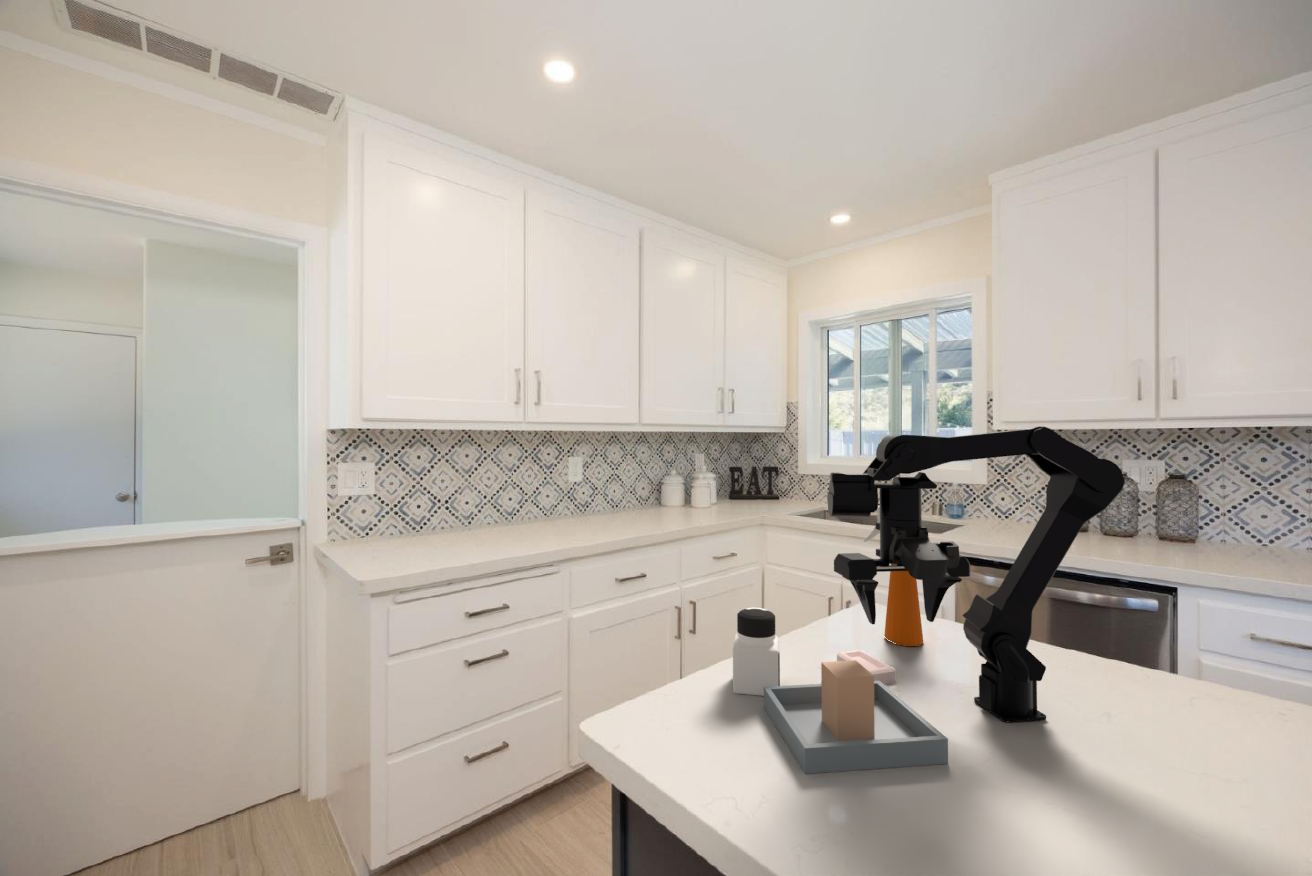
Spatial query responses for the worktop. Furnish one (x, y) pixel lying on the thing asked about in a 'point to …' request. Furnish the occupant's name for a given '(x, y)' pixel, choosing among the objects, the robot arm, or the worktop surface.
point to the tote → (819, 751)
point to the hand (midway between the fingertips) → (901, 622)
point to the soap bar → (870, 665)
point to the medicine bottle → (755, 652)
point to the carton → (847, 699)
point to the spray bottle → (902, 606)
